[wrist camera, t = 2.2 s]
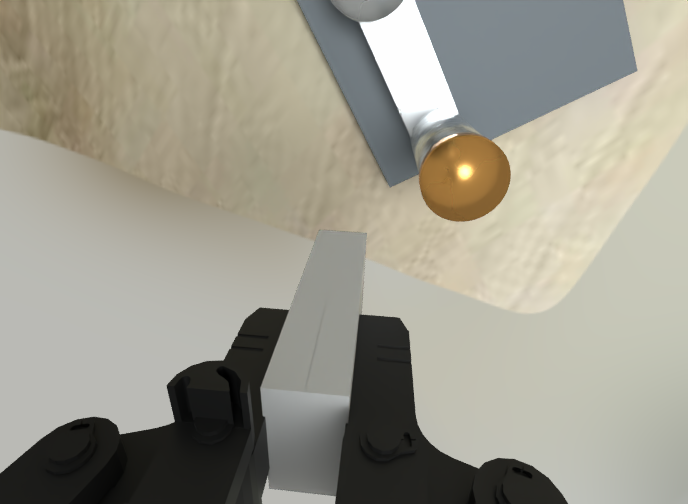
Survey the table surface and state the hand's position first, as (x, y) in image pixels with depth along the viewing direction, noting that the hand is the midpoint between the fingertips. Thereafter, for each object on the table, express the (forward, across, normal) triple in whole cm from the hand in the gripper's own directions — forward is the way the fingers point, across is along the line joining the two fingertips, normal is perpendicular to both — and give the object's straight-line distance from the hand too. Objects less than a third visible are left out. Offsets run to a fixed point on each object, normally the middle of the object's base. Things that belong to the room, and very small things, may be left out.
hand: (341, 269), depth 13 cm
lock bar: (+14, +2, +6) cm, 15 cm away
